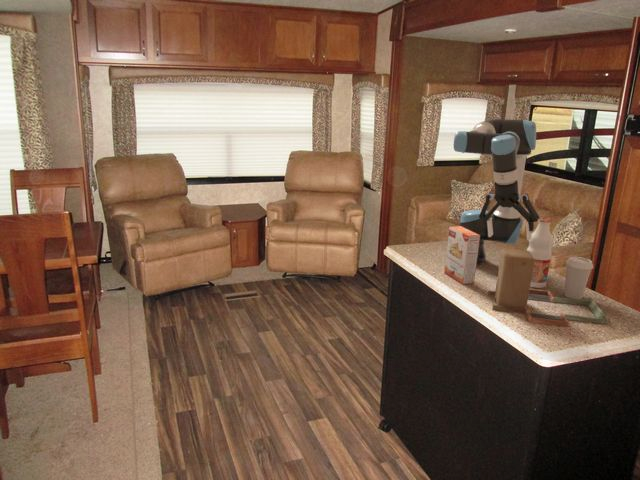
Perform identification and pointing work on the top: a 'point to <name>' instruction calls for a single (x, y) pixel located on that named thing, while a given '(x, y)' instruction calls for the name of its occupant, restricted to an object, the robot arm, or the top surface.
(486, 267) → the top surface
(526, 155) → the robot arm
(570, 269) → the coffee cup
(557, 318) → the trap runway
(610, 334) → the top surface
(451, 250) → the cracker box
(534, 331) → the top surface
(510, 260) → the wooden block
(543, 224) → the fruit juice
